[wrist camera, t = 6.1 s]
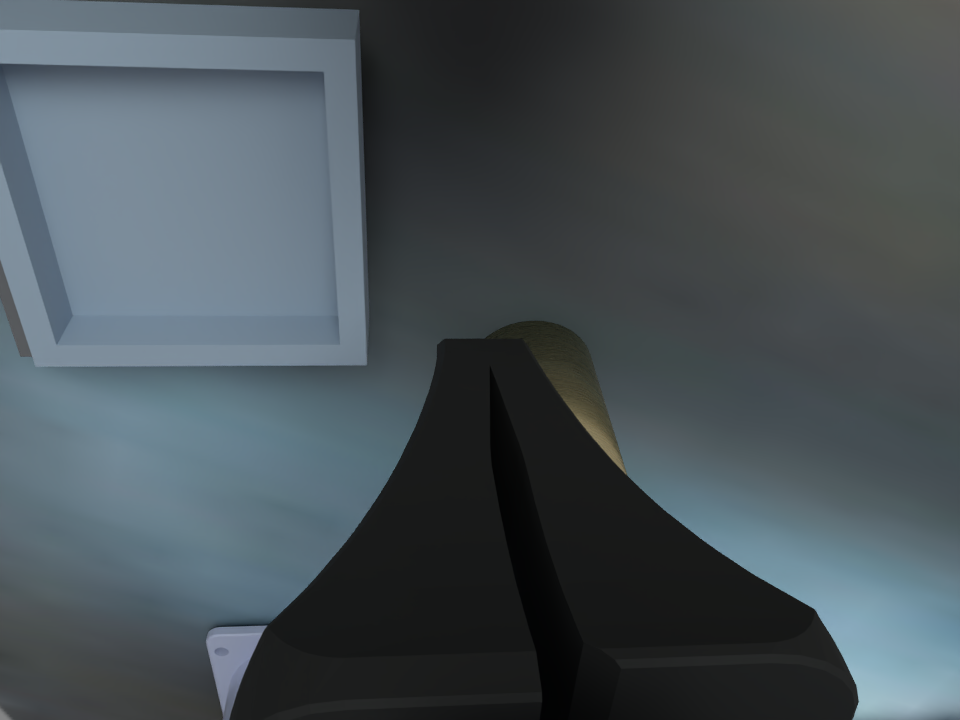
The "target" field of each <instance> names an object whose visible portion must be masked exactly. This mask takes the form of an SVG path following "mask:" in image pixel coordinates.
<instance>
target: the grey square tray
mask: <svg viewBox="0 0 960 720" xmlns="http://www.w3.org/2000/svg"><path fill="white" fill-rule="evenodd" d="M0 260H1V263H2V266H3V269H4V273H5V276H6V279H7V282H8V285H9V288H10V291H11V294H12V297H13V300H14V303H15V306H16V309H17V312H18V315H19V318H20V321H21V324H22V327H23V330H24V333H25V336H26V339H27V342H28V345H29V348H30V351H31V354H32V357H33V360H34V363H35V366H36V367H103V366H314V365H367V355H368V336H369V289H368V259H367V229H366V198H365V168H364V138H363V108H362V78H361V48H360V17H359V10H350V9H319V8H288V7H257V6H225V5H194V4H163V3H132V2H101V1H70V0H0Z"/></svg>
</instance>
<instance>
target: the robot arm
mask: <svg viewBox="0 0 960 720" xmlns="http://www.w3.org/2000/svg"><path fill="white" fill-rule="evenodd" d="M206 645H207V649H208V653H209V657H210V662H211V666H212V670H213V674H214V679H215V683H216V687H217V691H218V695H219V700H220V704H221V708H222V712H223V720H852V719H853V717H854V714H855V711H856V708H857V705H858V702H859V701H858V694H857V687H856V684H855V682H854V680H853V678H852V676H851V674H850V671H849V669H848V667H847V665H846V663H845V661H844V659H843V657H842V655H841V653H840V651H839V649H838V647H837V646H836V644H835V642H834V640H833V638H832V637H831V635H830V634H829V632H828V631H827V629H826V627H825V626H824V624H823V623H822V621H821V620H820V618H819V616H818V614H817V612H816V611H815V609H813V608H811V607H810V606H808V605H806V604H804V603H803V602H801V601H799V600H797V599H796V598H794V597H792V596H790V595H788V594H787V593H785V592H783V591H781V590H780V589H778V588H776V587H774V586H773V585H771V584H769V583H767V582H766V581H764V580H762V579H760V578H758V577H757V576H755V575H754V574H752V573H750V572H749V571H747V570H746V569H744V568H743V567H741V566H740V565H738V564H737V563H735V562H734V561H732V560H731V559H729V558H728V557H726V556H725V555H723V554H722V553H720V552H718V551H717V550H716V549H714V548H713V547H711V546H710V545H709V544H707V543H706V542H704V541H703V540H702V539H700V538H699V537H698V536H696V535H695V534H694V533H693V532H691V531H690V530H689V529H688V528H686V527H685V526H684V525H682V524H681V523H680V522H679V521H677V520H676V519H675V518H673V517H672V516H671V515H670V514H668V513H667V512H666V511H665V510H663V509H662V508H661V507H660V506H659V505H658V504H657V503H655V502H654V501H653V500H652V499H651V498H650V497H649V496H648V495H647V494H646V493H645V492H643V491H642V490H641V489H640V488H639V487H638V486H637V485H636V484H635V483H634V482H633V481H632V480H631V479H630V478H629V477H628V476H627V475H626V474H625V473H624V472H623V471H622V470H621V469H620V468H619V467H618V466H617V465H616V463H615V462H614V461H613V460H612V459H611V458H610V457H609V456H608V455H607V453H606V452H605V451H604V450H603V449H602V448H601V447H600V446H599V444H598V443H597V442H596V441H595V440H594V439H593V437H592V436H591V435H590V434H589V433H588V431H587V430H586V429H585V428H584V426H583V425H582V424H581V423H580V421H579V420H578V419H577V417H576V416H575V415H574V413H573V412H572V411H571V409H570V408H569V407H568V406H567V404H566V403H565V402H564V400H563V399H562V397H561V396H560V395H559V393H558V392H557V390H556V389H555V387H554V386H553V384H552V383H551V382H550V380H549V379H548V377H547V376H546V374H545V373H544V371H543V369H542V368H541V366H540V365H539V363H538V361H537V360H536V358H535V356H534V355H533V353H532V351H531V350H530V348H529V346H528V345H527V344H526V343H525V341H524V340H523V339H444V340H443V341H441V342H440V343H439V344H438V345H437V361H436V367H435V372H434V376H433V379H432V383H431V386H430V390H429V393H428V396H427V398H426V401H425V404H424V406H423V409H422V412H421V414H420V417H419V420H418V422H417V424H416V427H415V429H414V431H413V433H412V435H411V437H410V439H409V441H408V443H407V446H406V448H405V450H404V452H403V454H402V456H401V458H400V460H399V462H398V464H397V465H396V467H395V469H394V471H393V473H392V474H391V476H390V478H389V480H388V481H387V483H386V485H385V486H384V488H383V490H382V491H381V493H380V494H379V496H378V498H377V499H376V501H375V502H374V504H373V505H372V507H371V508H370V510H369V511H368V512H367V514H366V515H365V517H364V518H363V520H362V521H361V523H360V524H359V525H358V527H357V528H356V530H355V531H354V532H353V534H352V535H351V536H350V538H349V539H348V540H347V541H346V543H345V544H344V545H343V546H342V548H341V549H340V550H339V551H338V552H337V553H336V555H335V556H334V557H333V558H332V559H331V560H330V562H329V563H328V564H327V565H326V566H325V568H324V569H323V570H322V571H321V572H320V573H319V575H318V576H317V577H316V578H315V579H314V580H313V581H312V582H311V584H310V585H309V586H308V587H307V588H306V589H305V590H304V591H303V592H302V593H301V594H300V595H299V596H298V597H297V598H296V599H295V600H294V601H293V602H292V603H291V604H290V605H289V606H288V607H287V608H285V609H284V610H283V611H282V612H281V613H280V614H279V615H278V616H277V617H276V618H275V619H274V620H273V621H272V622H271V623H270V624H269V625H267V626H235V627H217V628H214V629H211V630H210V631H209V632H208V635H207V639H206Z"/></svg>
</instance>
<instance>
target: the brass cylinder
mask: <svg viewBox="0 0 960 720" xmlns="http://www.w3.org/2000/svg"><path fill="white" fill-rule="evenodd" d="M485 339H523V340H524V341H525V343H526V344H527V345H528V346H529V348H530V350H531V351H532V353H533V355H534V356H535V358H536V360H537V361H538V363H539V365H540V366H541V368H542V369H543V371H544V373H545V374H546V376H547V377H548V379H549V380H550V382H551V383H552V384H553V386H554V387H555V389H556V390H557V392H558V393H559V395H560V396H561V397H562V399H563V400H564V402H565V403H566V404H567V406H568V407H569V408H570V409H571V411H572V412H573V413H574V415H575V416H576V417H577V419H578V420H579V421H580V423H581V424H582V425H583V426H584V428H585V429H586V430H587V431H588V433H589V434H590V435H591V436H592V437H593V439H594V440H595V441H596V442H597V443H598V444H599V446H600V447H601V448H602V449H603V450H604V451H605V452H606V453H607V455H608V456H609V457H610V458H611V459H612V460H613V461H614V462H615V463H616V465H617V466H618V467H619V468H620V469H621V470H622V471H623V472H624V473H625V474H626V475H627V473H626V470H625V467H624V463H623V460H622V457H621V454H620V450H619V447H618V444H617V441H616V437H615V434H614V431H613V427H612V424H611V421H610V418H609V414H608V411H607V408H606V405H605V401H604V398H603V395H602V391H601V388H600V385H599V382H598V378H597V375H596V372H595V369H594V365H593V362H592V359H591V356H590V353H589V350H588V348H587V346H586V345H585V343H584V342H583V341H582V340H581V339H580V337H579V336H577V335H576V334H575V333H574V332H572V331H571V330H569V329H567V328H565V327H563V326H561V325H558V324H554V323H550V322H544V321H526V322H519V323H515V324H511V325H508V326H506V327H503V328H501V329H499V330H497V331H495V332H494V333H492V334H491V335H489V336H488V337H486V338H485Z"/></svg>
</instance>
